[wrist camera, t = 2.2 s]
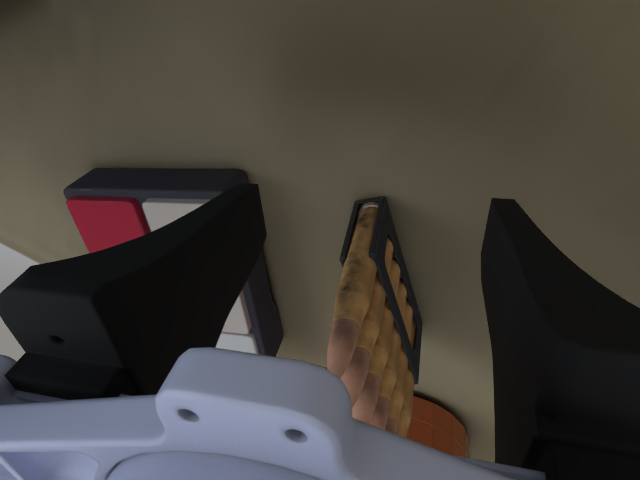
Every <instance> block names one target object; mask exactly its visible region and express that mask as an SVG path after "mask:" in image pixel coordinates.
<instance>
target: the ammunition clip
mask: <svg viewBox="0 0 640 480" xmlns="http://www.w3.org/2000/svg"><path fill="white" fill-rule="evenodd" d="M340 261H341V264H342V266H343V270H342V274H341V277H340V281H339V285H338V288H337V292H336V296H335V312H334V316H333V321H332V328H331V332H330V336H329V342H328V349H327V370H329V371H330V372H331V373H333V374H334V375H336V376H337V377H338V378H340V379H341V380H342V381H343V382H344V384H345V386H346V388H347V391H348V393H349V395H350V397H351V409H352V417H353V418H355V419H357V420H360V421H362V422H365V423H368V424H370V425H373V426H376V427H378V428H381V429H384V430H386V431H389V432H392V433H394V434H397V435H400V436H402V437H405V438H407V432H408V428H409V424H410V421H411V416H412V405H413V392H414V384H418V377H419V363H420V349H421V336H422V320H421V316H420V313H419V310H418V306H417V303H416V299H415V296H414V293H413V289H412V286H411V282H410V279H409V276H408V272H407V269H406V265H405V262H404V258H403V255H402V252H401V248H400V245H399V241H398V238H397V235H396V231H395V228H394V224H393V221H392V217H391V214H390V211H389V207H388V204H387V200H386V197H378V198H373V199H367V200H361V201H356V202H355V203H354V207H353V211H352V215H351V218H350V222H349V226H348V229H347V233H346V237H345V241H344V244H343V248H342V252H341V255H340Z"/></svg>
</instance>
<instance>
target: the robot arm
mask: <svg viewBox="0 0 640 480" xmlns="http://www.w3.org/2000/svg"><path fill="white" fill-rule="evenodd" d="M266 236H267V234H266V228H265V222H264V216H263V211H262V205H261V199H260V193H259V187H258V184H248V183H240V184H238V185H235V186H233V187H232V188H230V189H228V190H226V191H225V192H223V193H221V194H220V195H218V196H216V197H215V198H213V199H211V200H210V201H208V202H206V203H205V204H203V205H201V206H200V207H198V208H196V209H195V210H193V211H191V212H189V213H187V214H186V215H184V216H182V217H180V218H178V219H176V220H175V221H173V222H171V223H169V224H167V225H165V226H163V227H161V228H159V229H157V230H154V231H152V232H150V233H147V234H145V235H143V236H140V237H138V238H135V239H132V240H130V241H127V242H124V243H121V244H118V245H116V246H113V247H110V248H107V249H103V250H100V251H96V252H93V253H89V254H85V255H82V256H78V257H74V258H69V259H65V260H60V261H55V262H49V263H44V264H39V265H34V266H31V267H29V268H28V269H27V270H26V271H25V272H24V273H23V274H21V275H20V276H19V277H18V278H17V279H16V280H15V281H14V282H13V283H11V284H10V285H9V286H8V287H7V288H6V289H4V290H3V291H2V292H1V293H0V316H1V318H2V319H3V321H4V323H5V324H6V326H7V327H8V328H9V330H10V331H11V332H12V334H13V335H14V336H15V338H16V340H17V341H18V342H19V344H20V345H21V346H22V348H23V349H24V351H25V352H26V353H25V354H24V355H23V356H22V357H21V358H20V359H19V360H18V361H17V362H16V361H15V360H14V359H12V358H10V357H7V356H4V355H0V480H640V308H638V307H636V306H635V305H633V304H631V303H629V302H628V301H626V300H625V299H623V298H621V297H620V296H618V295H617V294H615V293H614V292H612V291H611V290H609V289H608V288H606V287H605V286H603V285H602V284H600V283H599V282H597V281H596V280H595V279H593V278H592V277H591V276H590V275H588V274H587V273H586V272H584V271H583V270H582V269H581V268H579V267H578V266H577V265H576V264H575V263H573V262H572V261H571V260H570V259H569V258H568V257H567V256H566V255H564V254H563V253H562V252H561V251H560V250H559V249H558V248H557V247H556V246H555V245H554V244H553V243H552V242H551V241H550V240H549V239H548V238H547V237H546V236H545V235H544V234H543V233H542V231H541V230H540V229H539V228H538V227H537V226H536V225H535V223H534V222H533V221H532V220H531V219H530V218H529V216H528V215H527V214H526V213H525V212H524V210H523V209H522V208H521V207H520V206H519V204H518V203H517V202H516V201H515V200H514V199H499V198H492V199H491V205H490V210H489V215H488V220H487V225H486V230H485V235H484V241H483V246H482V251H481V282H482V289H483V295H484V302H485V308H486V314H487V320H488V327H489V333H490V339H491V346H492V356H493V378H494V410H495V463H493V462H487V461H482V460H477V459H471V458H466V457H460V456H455V455H450V454H447V453H444V452H442V451H439V450H437V449H434V448H431V447H429V446H426V445H423V444H421V443H418V442H415V441H413V440H410V439H407V438H405V437H402V436H400V435H397V434H394V433H392V432H389V431H386V430H384V429H381V428H378V427H376V426H373V425H370V424H368V423H365V422H362V421H360V420H357V419H355V418H353V417H352V413H351V397H350V395H349V393H348V391H347V388H346V386H345V384H344V382H343V381H342V380H341V379H340V378H338V377H337V376H336V375H334V374H333V373H331V372H330V371H329V370H327V369H326V368H324V367H321V366H318V365H315V364H312V363H309V362H306V361H300V360H293V359H287V358H280V357H273V356H267V355H260V354H253V353H247V352H240V351H234V350H227V349H220V348H216V345H217V342H218V340H219V337H220V335H221V332H222V330H223V327H224V325H225V322H226V320H227V318H228V316H229V314H230V311H231V309H232V308H233V306H234V304H235V302H236V300H237V298H238V296H239V295H240V293H241V291H242V289H243V287H244V285H245V284H246V282H247V280H248V278H249V276H250V274H251V272H252V270H253V268H254V267H255V265H256V263H257V261H258V259H259V256H260V253H261V250H262V248H263V245H264V242H265V239H266Z"/></svg>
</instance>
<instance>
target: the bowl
mask: <svg viewBox="0 0 640 480" xmlns="http://www.w3.org/2000/svg"><path fill="white" fill-rule="evenodd" d="M351 413H352V409H351ZM407 439H410V440H413V441H415V442H418V443H421V444H423V445H426V446H429V447H431V448H434V449H437V450H439V451H442V452H444V453H447V454H450V455H455V456H460V457H466V458H470V454H469V439H468V436H467V433H466V430H465V427H464V426H463V425H462V424H461V423H460V422H459V421H458V420H457V419H456V418H455V417H454V416H453V415H452V414H451V413H450V412H448V411H446V410H445V409H443V408H441V407H440V406H438V405H436V404H435V403H432V402H430V401H427V400H424V399H421V398H418V397H415V396H413V405H412V416H411V421H410V424H409V428H408V432H407Z"/></svg>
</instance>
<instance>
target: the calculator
mask: <svg viewBox="0 0 640 480" xmlns="http://www.w3.org/2000/svg"><path fill="white" fill-rule="evenodd" d="M240 183H248V181H247V177H246V175H245V173H244V172H243V171H241V170H207V169H110V168H96V169H93V170H91V171H90V172H88V173H87V174H85V175H84V176H82V177H81V178H79V179H78V180H76V181H75V182H73V183H72V184H70V185H69V186H67V187H66V188H65V189H64V195H65V197H66V199H67V201H66V204H67V207H68V209H69V211H70V213H71V215H72V217H73V219H74V222H75V224H76V226H77V228H78V230H79V232H80V234H81V236H82V239H83V241H84V243H85V245H86V247H87V249H88V251H89V253H93V252H96V251H100V250H103V249H107V248H110V247H113V246H116V245H118V244H121V243H124V242H127V241H130V240H132V239H135V238H138V237H140V236H143V235H145V234H147V233H150V232H152V231H154V230H157V229H159V228H161V227H163V226H165V225H167V224H169V223H171V222H173V221H175V220H176V219H178V218H180V217H182V216H184V215H186V214H187V213H189V212H191V211H193V210H195V209H196V208H198V207H200V206H201V205H203V204H205V203H206V202H208V201H210V200H211V199H213V198H215V197H216V196H218V195H220V194H221V193H223V192H225V191H226V190H228V189H230V188H232V187H233V186H235V185H238V184H240ZM282 339H283V334H282V329H281V324H280V319H279V314H278V309H277V305H276V304H275V303H274V302H273V301H272V297H271V292H270V288H269V283H268V278H267V273H266V268H265V263H264V259H263V254H262V250H261V253H260V256H259V259H258V261H257V263H256V265H255V267H254V268H253V270H252V272H251V274H250V276H249V278H248V280H247V282H246V284H245V285H244V287H243V289H242V291H241V293H240V295H239V296H238V298H237V300H236V302H235V304H234V306H233V308H232V309H231V311H230V314H229V316H228V318H227V320H226V322H225V325H224V327H223V330H222V332H221V335H220V337H219V340H218V342H217V345H216V348H220V349H227V350H234V351H240V352H247V353H253V354H260V355H267V356H273V357H275V356H276V354H277V351H278V349H279V347H280V344H281V342H282Z"/></svg>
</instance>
